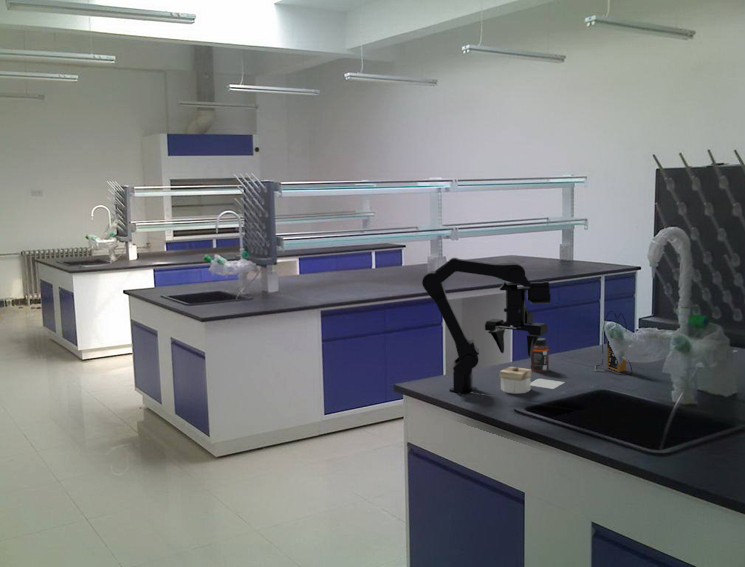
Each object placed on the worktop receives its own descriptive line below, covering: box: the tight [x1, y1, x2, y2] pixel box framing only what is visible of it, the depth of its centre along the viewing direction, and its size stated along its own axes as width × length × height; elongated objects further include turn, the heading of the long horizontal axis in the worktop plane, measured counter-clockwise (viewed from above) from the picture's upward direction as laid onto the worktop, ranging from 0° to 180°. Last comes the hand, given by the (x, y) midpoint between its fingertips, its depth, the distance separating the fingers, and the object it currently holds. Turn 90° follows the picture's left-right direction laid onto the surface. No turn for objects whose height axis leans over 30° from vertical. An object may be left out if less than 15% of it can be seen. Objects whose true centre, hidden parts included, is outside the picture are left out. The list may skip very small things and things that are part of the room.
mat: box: [530, 378, 566, 390], centre depth 230 cm, size 9×9×1 cm
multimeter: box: [594, 310, 633, 376], centre depth 244 cm, size 15×10×20 cm
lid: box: [498, 366, 532, 381], centre depth 224 cm, size 7×7×3 cm
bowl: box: [500, 376, 531, 394], centre depth 225 cm, size 8×8×4 cm
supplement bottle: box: [530, 337, 550, 373], centre depth 247 cm, size 6×6×11 cm
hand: (515, 354), depth 223 cm, fingers open, 9 cm apart
